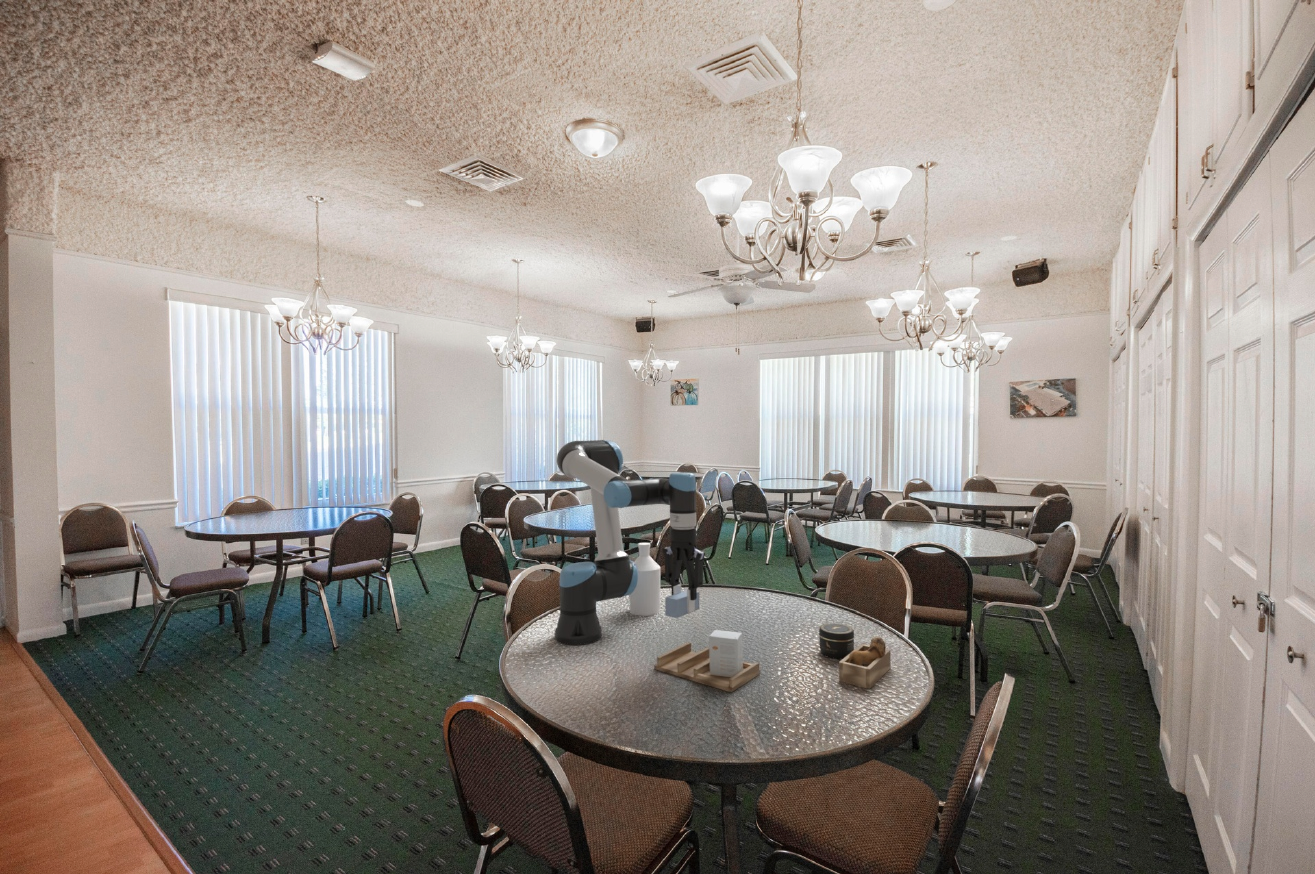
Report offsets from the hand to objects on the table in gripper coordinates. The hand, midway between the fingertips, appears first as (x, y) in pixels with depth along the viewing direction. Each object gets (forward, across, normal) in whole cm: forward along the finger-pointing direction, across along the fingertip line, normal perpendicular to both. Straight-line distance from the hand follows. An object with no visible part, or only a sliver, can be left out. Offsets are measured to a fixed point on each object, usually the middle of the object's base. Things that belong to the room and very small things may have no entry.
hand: (684, 609), depth 167 cm
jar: (+16, +31, +34) cm, 49 cm away
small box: (+15, +14, 0) cm, 20 cm away
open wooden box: (+16, +43, +24) cm, 52 cm away
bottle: (+16, -42, +33) cm, 56 cm away
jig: (+16, +8, 0) cm, 17 cm away
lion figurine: (+16, +43, +24) cm, 52 cm away
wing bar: (+1, 0, -1) cm, 1 cm away
